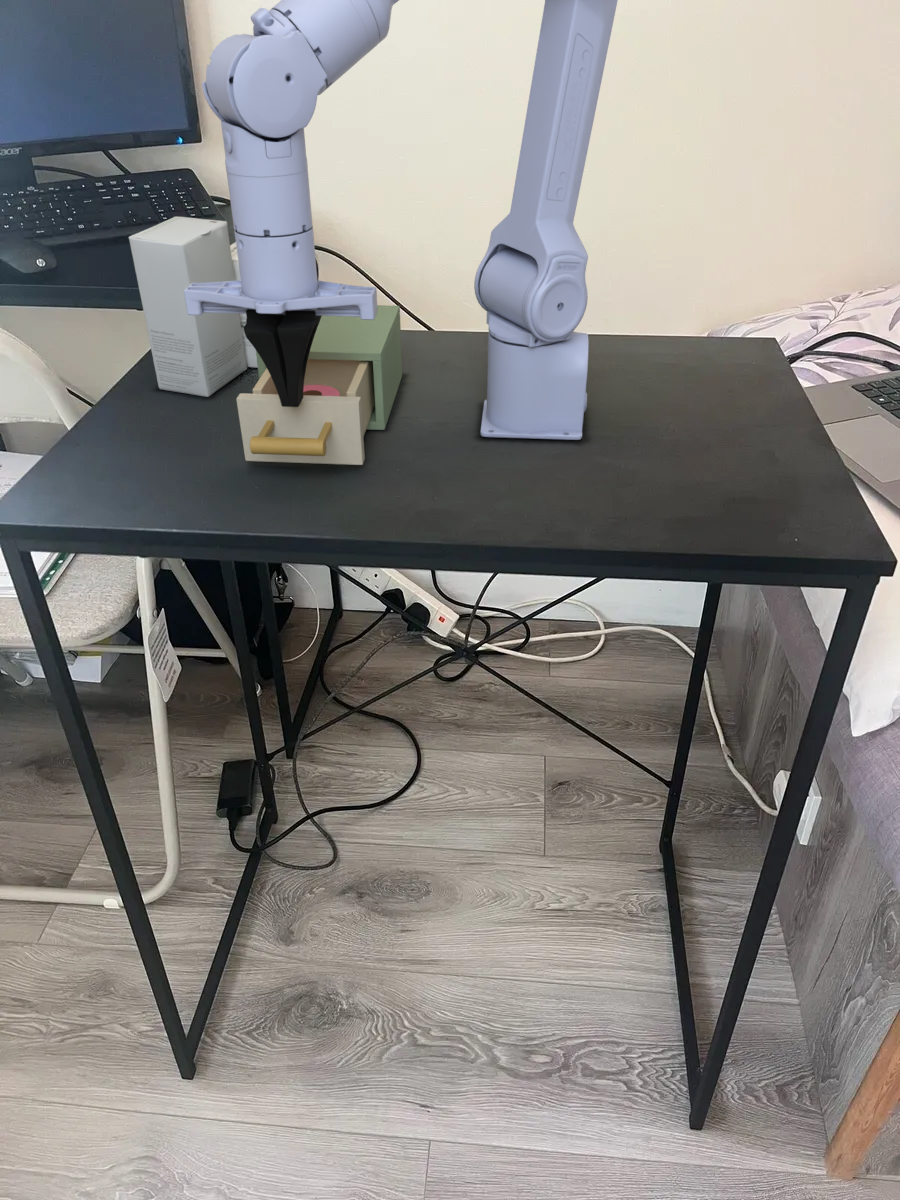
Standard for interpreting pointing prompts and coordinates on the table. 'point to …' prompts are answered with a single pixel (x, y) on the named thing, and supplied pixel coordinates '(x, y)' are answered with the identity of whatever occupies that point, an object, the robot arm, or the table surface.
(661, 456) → the table surface
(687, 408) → the table surface
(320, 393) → the donut
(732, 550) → the table surface
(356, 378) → the drawer
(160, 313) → the cosmetic box
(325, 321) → the cabinet
